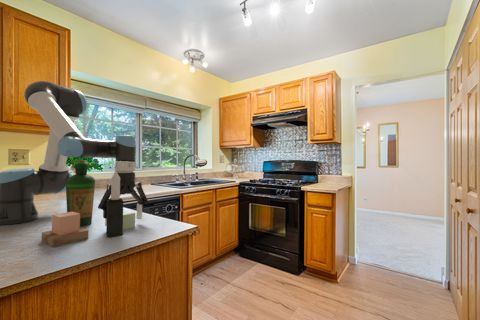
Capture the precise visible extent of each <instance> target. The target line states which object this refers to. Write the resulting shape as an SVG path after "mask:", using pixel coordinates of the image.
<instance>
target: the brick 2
mask: <svg viewBox="0 0 480 320" xmlns="http://www.w3.org/2000/svg"><path fill="white" fill-rule="evenodd" d="M135 227H136V212H133V211H130V210H129V211H128V210H126V211H125V210H124V211H123V230H129V229H131V228H135Z"/></svg>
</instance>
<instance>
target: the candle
mask: <svg viewBox="0 0 480 320" xmlns="http://www.w3.org/2000/svg"><path fill="white" fill-rule="evenodd" d="M110 183H111V184H110V185H111V196H110V198H111V199H110V198H109V199H108V201H107V226H105V227H106V232H105V234H106V237H107V238H116V237H120V236H122V235H124V234H123V212H124V200H123V198H122V197H121V195H120V177H119V175H118V172H117V169H115V168H114V172H113V175H112V176H111V182H110Z"/></svg>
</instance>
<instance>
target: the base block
mask: <svg viewBox="0 0 480 320" xmlns="http://www.w3.org/2000/svg"><path fill="white" fill-rule="evenodd" d="M89 232H90V231H89V229H86V228H84V227H82V226H80V231H76V232H72V233H67V234H63V235H57V234H55V233H53V232H52V229H51V230H47V231H42V232H41V242H42V241H43V242H42V243H44V244H46V245H48V246H50V247H52V248H57V247H62V246H64V245H68V244H72V243H73V244H74V243H76V242H80V241H84V240H89Z"/></svg>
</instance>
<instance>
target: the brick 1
mask: <svg viewBox="0 0 480 320" xmlns="http://www.w3.org/2000/svg"><path fill="white" fill-rule="evenodd" d="M51 216H52V217H51V230H52V232H53V233H55V234H57V235H63V234H67V233H72V232H76V231H80V227H81V226H80V214H79V213H76V212H67V211H66V212H59V213H54V214H52V215H51Z"/></svg>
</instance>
